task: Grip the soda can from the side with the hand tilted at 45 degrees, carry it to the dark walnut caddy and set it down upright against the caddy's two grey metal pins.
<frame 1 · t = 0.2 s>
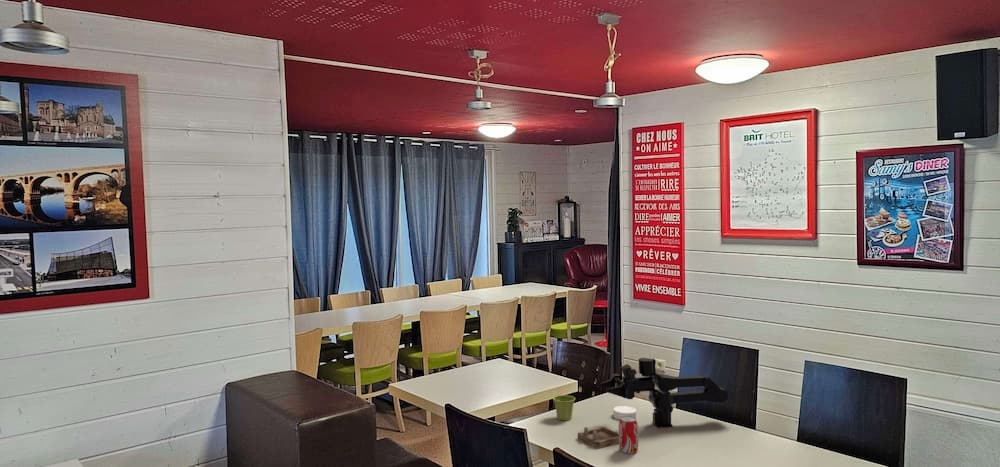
hand: (602, 387, 257), 17 cm above the table, tool horizontal, fingers open, 9 cm apart
soda can: (628, 451, 233), on the table
caddy: (600, 440, 244), on the table
coaster: (624, 417, 271), on the table
plant pot: (564, 418, 270), on the table
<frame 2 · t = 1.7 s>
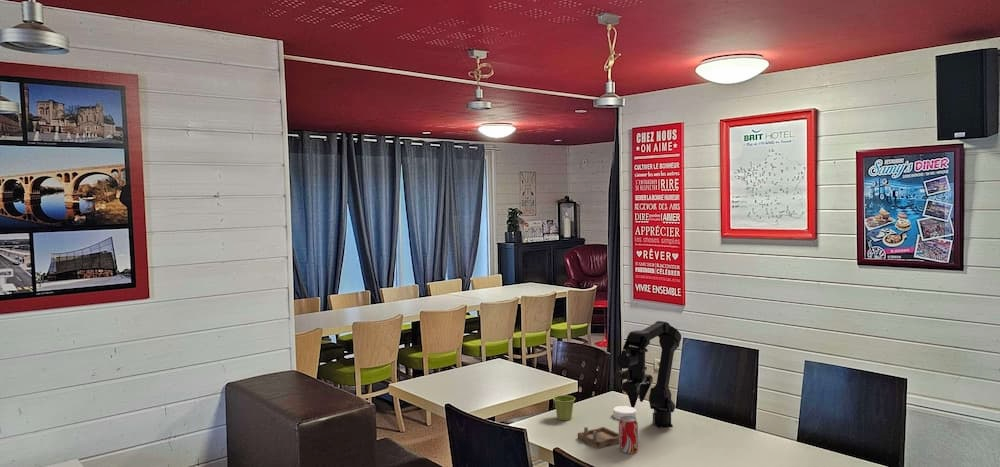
hand: (637, 404, 247), 13 cm above the table, tool pointing down, fingers open, 9 cm apart
nothing on the table moved.
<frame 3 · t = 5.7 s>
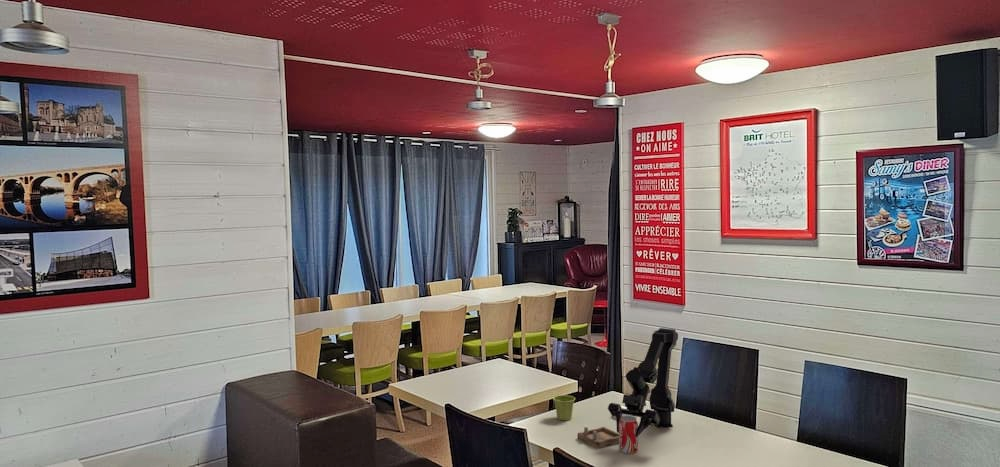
hand: (626, 434, 232), 7 cm above the table, tool tilted 45°, fingers closed on soda can, 7 cm apart
soda can: (628, 451, 233), on the table, touching gripper
everything else where it was.
when the fingers open (9 cm above the table, at t = 9.7 s): soda can drops 1 cm, resting on caddy.
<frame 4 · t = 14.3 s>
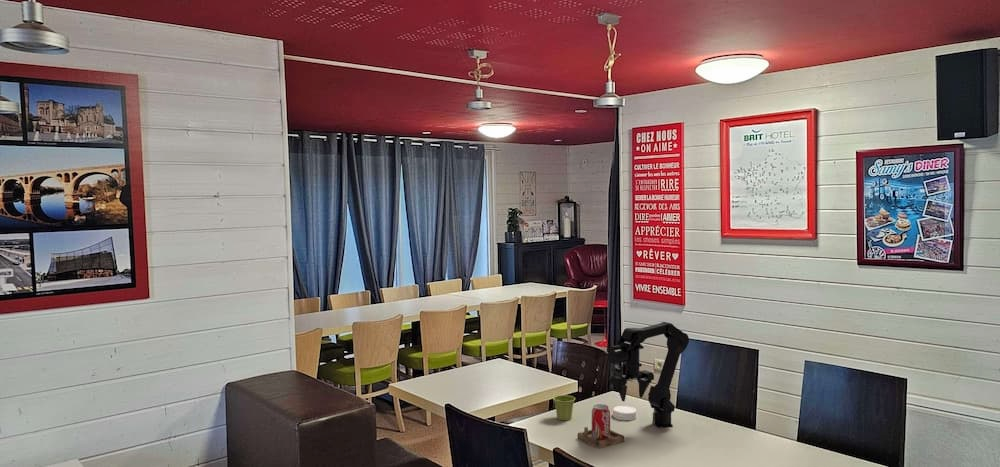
hand: (632, 399, 253), 13 cm above the table, tool pointing down, fingers open, 9 cm apart
soda can: (600, 437, 244), point 1 cm above the table, touching caddy
everything else where it was.
at the end: soda can 0.1 cm off-centre on the caddy, point 0.8 cm above the caddy's base; soda can tilted 0°; the gripper is holding nothing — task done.
